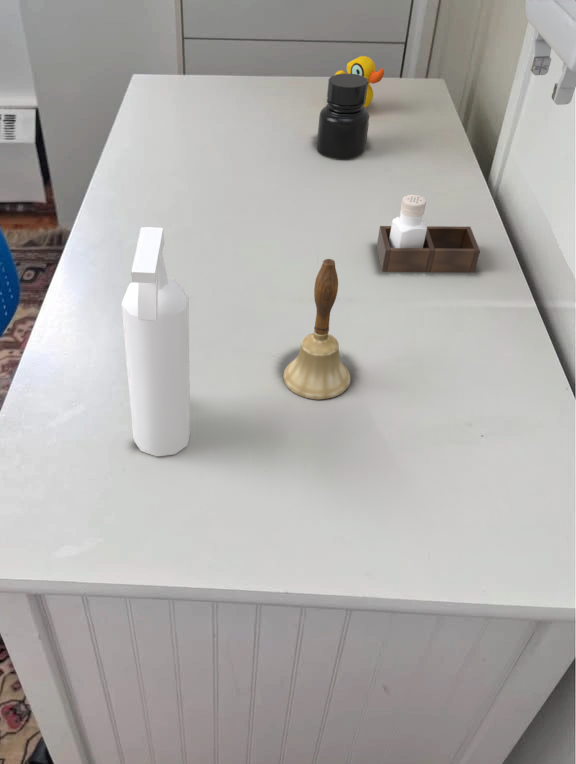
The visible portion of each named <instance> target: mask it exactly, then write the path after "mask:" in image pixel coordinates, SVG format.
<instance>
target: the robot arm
mask: <svg viewBox="0 0 576 764" xmlns="http://www.w3.org/2000/svg"><path fill="white" fill-rule="evenodd" d="M524 5H525V7H524V11H525V20H526V21H527V22H528V23H529V24H530V25H531V26H532V27H533V29H534V33H533V38H532V39H533V40H532V41H533V42H532V45H533V46H532V59H531V63H530V67H529V70H530V71H531V73H532V74H533V75H534V76H545V75H547V74H548V73H549V69H550V65H551V62H552V57H551V54H552V53H551V52H552V51H553V52H554V54H556V55H557V56H558V58H559V59H560V60H561V61H562V62H563V63H562V67H561V71H562V73H561V76H560V78H559V80H558V82H556V83H554V86H553V91H552V94H551V100H552V101H553V102H554V104H555V105H557V106H558V105H559V106H560V105H562V106H563V105H564V106H565V105H569V104H570V103H571V102H572V100H573V96H574V92H575V90H576V0H525V4H524Z"/></svg>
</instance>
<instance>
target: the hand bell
mask: <svg viewBox="0 0 576 764" xmlns="http://www.w3.org/2000/svg"><path fill="white" fill-rule="evenodd" d="M338 291H339V278H338V273H337V269H336V262H335V260H334V259H332V258H326V259H323V261H322V264H321V266H320V268H319V270H318V273H317V275H316V277H315V281H314V289H313V295H314V298H313V299H314V302H315V303H314V304H315V308H316V315H315V323H314V326H313V327H314V329H313V330H314V331H313V332H312V333H309V334H307V335H306V336H304V338H303V339H302V340H301V343H300V348H299V351H298V354H297V356H296V358H295V359H293V360H292V361H291V362H289V363H288V364H287V366H286V367H285V369H284V370H283V375H282V378H283V382H284V385H285V386H286V387H287V388H288V389H289V390H290V391H291V392H293V394H295V395H298V396H300V397H302V398H306V399H310V400H327V399H332V398H335V397H337V396H340V395H342V394H343V393H344V392H346V391H347V389H348V388H349V387H350V384H351V372H350V371H349V369H348V367H347V366H346V365H345V364H344V363H343V362H341V358H340V345H339V344H340V343H339V341H338V339H337V338H336V337H335V336H333V335H332V334H330V333H329V331H330V317H331V312H332V309H333V306H334V304H335V302H336V300H337V296H338V295H337V294H338Z"/></svg>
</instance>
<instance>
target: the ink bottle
mask: <svg viewBox="0 0 576 764" xmlns="http://www.w3.org/2000/svg"><path fill="white" fill-rule="evenodd" d="M335 74H336V73H335ZM335 74H334V75H331V76H330V77H329V78H328V83H327V92H326V105H325V106H324V107H322V109H321V110H320V112H319V116H318V127H317V137H316V138H317V139H316V150H317V152H318V153H319V154H321V155H322V156H325V157H327V158H330V157H331V158H330V159H335V158H336V159H337V160H350V159H354V158H358V157H359V156H361V155H362V154H364V151H365V150H366V145H367V140H368V132H369V125H370V123H369V122H370V112H369V110H368V109H367V107H366V108H365V107H364V104H365V100H366V94H367V86H368V79H366V78H365V77H364V76H360V75H358V74H347V73H346V74H344V73H343V74H336V75H335Z"/></svg>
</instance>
